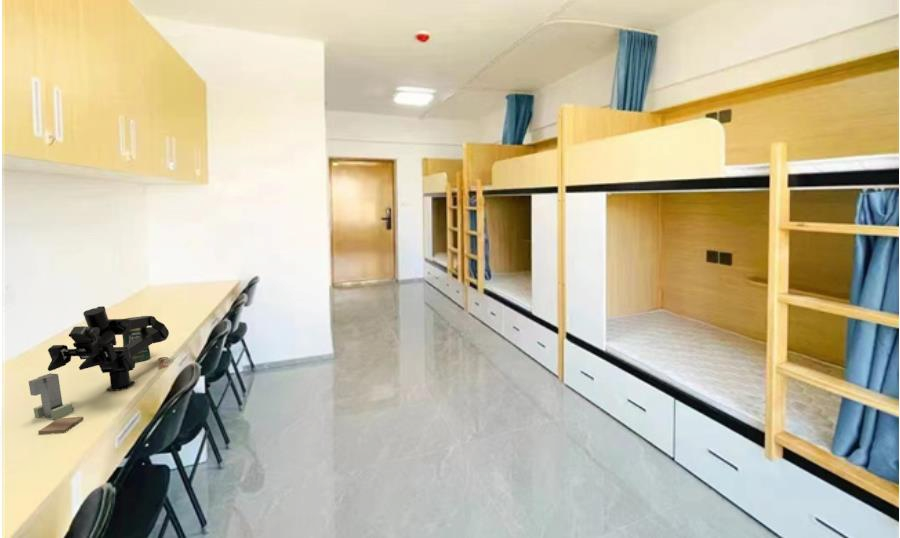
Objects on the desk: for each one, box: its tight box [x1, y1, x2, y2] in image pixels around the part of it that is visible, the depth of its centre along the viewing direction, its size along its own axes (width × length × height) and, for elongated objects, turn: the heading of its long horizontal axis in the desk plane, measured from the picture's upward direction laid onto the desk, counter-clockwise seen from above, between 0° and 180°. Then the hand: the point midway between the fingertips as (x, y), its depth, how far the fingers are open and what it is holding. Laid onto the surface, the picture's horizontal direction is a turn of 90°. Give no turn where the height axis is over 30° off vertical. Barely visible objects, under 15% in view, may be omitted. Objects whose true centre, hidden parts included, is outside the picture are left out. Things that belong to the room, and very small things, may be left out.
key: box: [157, 356, 170, 370], centre depth 189 cm, size 6×1×15 cm
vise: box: [33, 403, 75, 421], centre depth 144 cm, size 6×9×3 cm
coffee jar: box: [121, 316, 151, 363], centre depth 192 cm, size 10×8×19 cm
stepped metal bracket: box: [28, 372, 64, 419], centre depth 141 cm, size 6×3×13 cm, turn 166°
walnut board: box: [37, 416, 85, 435], centre depth 135 cm, size 8×7×1 cm
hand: (64, 369), depth 140 cm, fingers open, 9 cm apart
